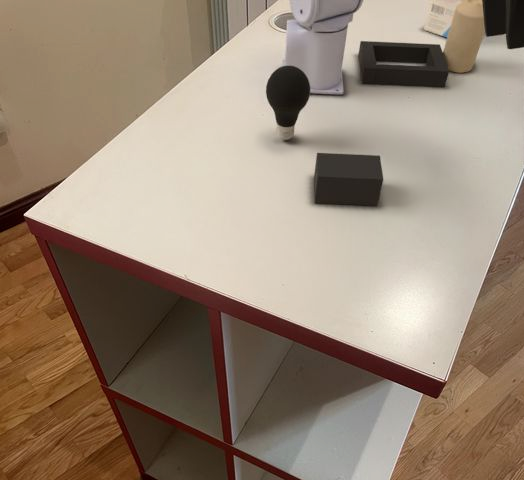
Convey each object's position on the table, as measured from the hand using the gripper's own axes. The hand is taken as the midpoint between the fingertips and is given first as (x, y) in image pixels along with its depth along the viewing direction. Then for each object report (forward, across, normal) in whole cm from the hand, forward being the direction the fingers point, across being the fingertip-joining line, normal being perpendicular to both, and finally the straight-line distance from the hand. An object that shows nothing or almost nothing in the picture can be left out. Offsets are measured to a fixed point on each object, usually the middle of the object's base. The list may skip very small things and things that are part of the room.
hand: (506, 41), depth 55 cm
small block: (+15, 0, +18) cm, 23 cm away
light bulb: (+11, +11, +26) cm, 30 cm away
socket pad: (+8, +33, +6) cm, 34 cm away
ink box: (+7, +49, -6) cm, 50 cm away
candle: (+10, +36, -4) cm, 37 cm away
